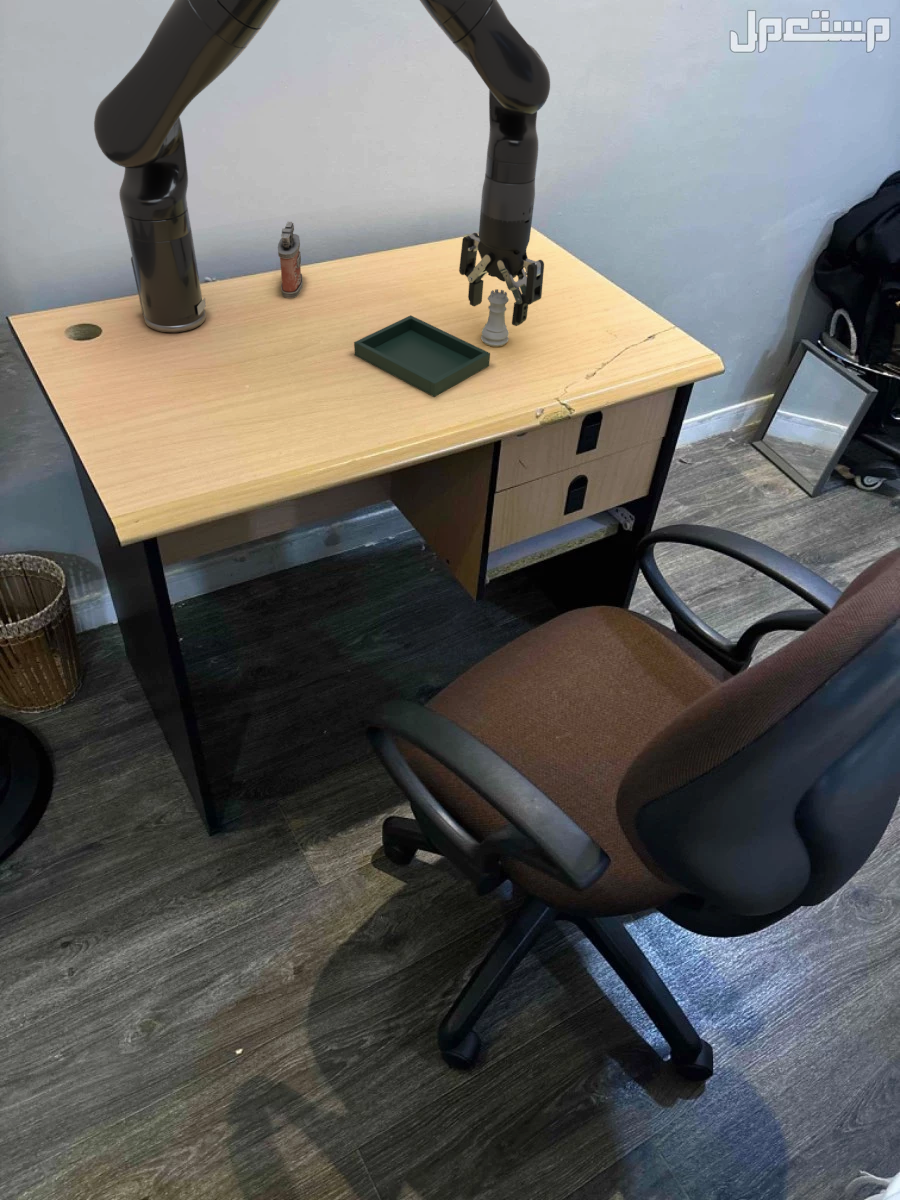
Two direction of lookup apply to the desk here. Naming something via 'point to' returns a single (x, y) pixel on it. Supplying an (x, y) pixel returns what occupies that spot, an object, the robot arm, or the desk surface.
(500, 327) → the rook chess piece
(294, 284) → the lighter
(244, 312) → the desk surface
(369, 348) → the tray
